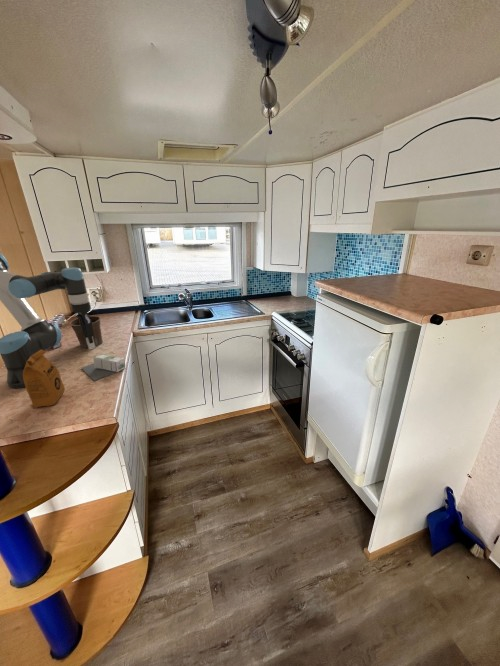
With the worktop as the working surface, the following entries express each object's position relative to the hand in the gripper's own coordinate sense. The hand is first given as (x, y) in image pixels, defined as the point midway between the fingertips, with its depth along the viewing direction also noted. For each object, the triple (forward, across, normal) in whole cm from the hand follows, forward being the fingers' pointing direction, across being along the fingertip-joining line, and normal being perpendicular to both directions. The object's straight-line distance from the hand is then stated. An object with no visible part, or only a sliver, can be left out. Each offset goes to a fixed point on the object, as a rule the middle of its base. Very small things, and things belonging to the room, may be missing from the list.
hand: (92, 348), depth 132 cm
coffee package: (+13, -10, +23) cm, 28 cm away
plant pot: (+14, +38, -10) cm, 42 cm away
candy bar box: (+14, +54, +7) cm, 57 cm away
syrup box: (+9, +4, -2) cm, 10 cm away
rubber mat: (+13, 0, 0) cm, 13 cm away
